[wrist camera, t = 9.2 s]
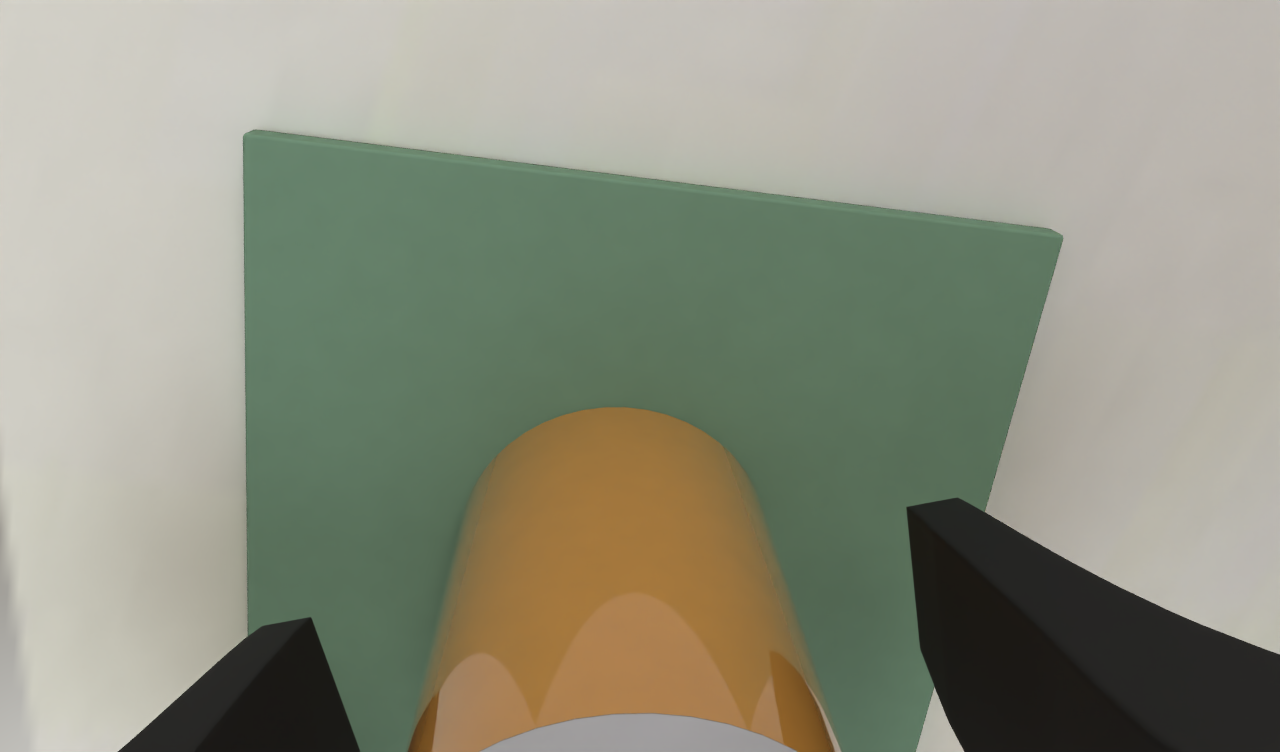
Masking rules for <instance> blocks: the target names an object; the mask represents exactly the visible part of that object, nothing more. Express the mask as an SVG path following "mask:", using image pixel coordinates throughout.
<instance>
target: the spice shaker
mask: <svg viewBox="0 0 1280 752" xmlns="http://www.w3.org/2000/svg"><path fill="white" fill-rule="evenodd" d="M405 752H844V750H843V747H842V744H841V741H840V738H839V735H838V732H837V729H836V726H835V723H834V720H833V717H832V714H831V711H830V708H829V705H828V702H827V699H826V696H825V693H824V690H823V687H822V684H821V681H820V678H819V675H818V672H817V669H816V666H815V663H814V660H813V657H812V654H811V651H810V648H809V645H808V642H807V639H806V636H805V633H804V630H803V627H802V624H801V621H800V618H799V615H798V612H797V609H796V606H795V603H794V600H793V597H792V594H791V591H790V588H789V585H788V582H787V579H786V576H785V573H784V570H783V567H782V564H781V561H780V558H779V555H778V552H777V549H776V546H775V543H774V540H773V537H772V534H771V531H770V528H769V525H768V522H767V519H766V516H765V513H764V510H763V507H762V504H761V502H760V499H759V497H758V494H757V492H756V489H755V487H754V485H753V483H752V481H751V480H750V478H749V476H748V475H747V473H746V471H745V470H744V469H743V467H742V466H741V465H740V464H739V462H738V461H737V460H736V458H735V457H734V456H733V455H732V454H731V453H730V452H729V451H728V450H727V449H726V448H725V447H723V446H722V445H721V444H720V443H719V442H718V441H716V440H715V439H714V438H712V437H711V436H709V435H708V434H707V433H705V432H704V431H702V430H700V429H698V428H696V427H695V426H693V425H691V424H689V423H687V422H685V421H682V420H680V419H677V418H674V417H672V416H669V415H666V414H662V413H658V412H654V411H650V410H645V409H636V408H628V407H603V408H595V409H587V410H581V411H577V412H573V413H569V414H565V415H562V416H559V417H557V418H554V419H552V420H549V421H546V422H544V423H542V424H540V425H538V426H536V427H534V428H533V429H531V430H529V431H527V432H525V433H524V434H522V435H521V436H520V437H518V438H517V439H515V440H514V441H513V442H511V443H510V444H508V445H507V446H506V447H505V448H504V449H503V450H502V451H501V452H500V453H499V454H498V455H497V456H496V457H495V458H494V459H493V460H492V461H491V463H490V464H489V465H488V466H487V467H486V469H485V470H484V471H483V472H482V474H481V476H480V477H479V479H478V481H477V482H476V484H475V486H474V487H473V489H472V491H471V494H470V496H469V499H468V501H467V504H466V506H465V510H464V514H463V518H462V522H461V526H460V530H459V534H458V538H457V543H456V547H455V551H454V555H453V559H452V563H451V567H450V571H449V575H448V579H447V583H446V588H445V592H444V596H443V600H442V604H441V608H440V612H439V616H438V620H437V624H436V629H435V633H434V637H433V641H432V645H431V649H430V653H429V657H428V661H427V665H426V670H425V674H424V678H423V682H422V686H421V690H420V694H419V698H418V702H417V706H416V710H415V715H414V719H413V723H412V727H411V731H410V735H409V739H408V743H407V747H406V751H405Z"/></svg>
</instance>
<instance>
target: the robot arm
mask: <svg viewBox="0 0 1280 752" xmlns="http://www.w3.org/2000/svg"><path fill="white" fill-rule="evenodd" d="M906 510H907V520H908V530H909V540H910V551H911V561H912V571H913V581H914V592H915V602H916V612H917V622H918V633H919V643H920V650H921V653H922V655H923V658H924V660H925V663H926V666H927V668H928V671H929V673H930V676H931V679H932V681H933V684H934V686H935V689H936V692H937V694H938V696H939V699H940V701H941V704H942V706H943V709H944V711H945V714H946V716H947V719H948V721H949V723H950V725H951V727H952V729H953V731H954V733H955V735H956V737H957V738H958V740H959V742H960V744H961V746H962V748H963V749H964V751H965V752H1280V655H1279V654H1276V653H1274V652H1271V651H1268V650H1265V649H1262V648H1260V647H1257V646H1255V645H1252V644H1250V643H1247V642H1244V641H1242V640H1239V639H1237V638H1234V637H1231V636H1229V635H1226V634H1224V633H1221V632H1219V631H1216V630H1213V629H1211V628H1208V627H1206V626H1203V625H1201V624H1198V623H1196V622H1194V621H1191V620H1189V619H1187V618H1184V617H1182V616H1180V615H1177V614H1175V613H1173V612H1171V611H1168V610H1166V609H1164V608H1162V607H1160V606H1158V605H1156V604H1154V603H1151V602H1149V601H1147V600H1145V599H1143V598H1141V597H1139V596H1137V595H1135V594H1133V593H1130V592H1128V591H1126V590H1124V589H1122V588H1120V587H1118V586H1116V585H1114V584H1112V583H1110V582H1108V581H1106V580H1104V579H1102V578H1100V577H1098V576H1096V575H1094V574H1093V573H1091V572H1089V571H1087V570H1085V569H1083V568H1081V567H1079V566H1078V565H1076V564H1074V563H1072V562H1070V561H1068V560H1067V559H1065V558H1063V557H1061V556H1059V555H1058V554H1056V553H1054V552H1052V551H1050V550H1049V549H1047V548H1045V547H1043V546H1042V545H1040V544H1038V543H1036V542H1035V541H1033V540H1031V539H1029V538H1028V537H1026V536H1024V535H1023V534H1021V533H1019V532H1017V531H1016V530H1014V529H1012V528H1011V527H1009V526H1007V525H1005V524H1004V523H1002V522H1000V521H999V520H997V519H995V518H993V517H992V516H990V515H988V514H987V513H985V512H983V511H982V510H980V509H978V508H976V507H975V506H973V505H971V504H969V503H967V502H965V501H964V500H962V499H960V498H958V497H957V498H952V499H946V500H941V501H935V502H930V503H924V504H919V505H914V506H908V507H906ZM118 752H360V749H359V746H358V744H357V741H356V738H355V735H354V733H353V730H352V727H351V724H350V722H349V719H348V716H347V714H346V711H345V708H344V705H343V703H342V700H341V697H340V694H339V692H338V689H337V686H336V683H335V681H334V678H333V675H332V672H331V670H330V667H329V664H328V662H327V659H326V656H325V653H324V651H323V648H322V645H321V642H320V640H319V637H318V634H317V631H316V629H315V626H314V623H313V620H312V618H311V617H308V618H302V619H297V620H291V621H286V622H281V623H275V624H270V625H264V626H261V627H260V628H259V629H257V630H256V631H255V632H253V633H252V634H250V635H249V636H248V637H247V638H245V639H244V640H243V641H242V642H241V643H239V644H238V645H237V646H236V647H235V648H233V649H232V650H231V651H230V652H229V653H228V654H227V655H225V656H224V657H223V658H222V659H221V660H220V661H219V662H217V663H216V664H215V665H214V666H213V667H212V668H211V669H210V670H209V671H207V672H206V673H205V674H204V675H203V676H202V677H201V678H200V679H199V680H198V681H196V682H195V683H194V684H193V685H192V686H191V687H190V688H189V689H188V690H187V691H185V692H184V693H183V694H182V695H181V696H180V697H179V698H178V699H177V700H175V701H174V702H173V703H172V704H171V705H170V706H169V707H168V708H167V709H166V710H164V711H163V712H162V713H161V714H160V715H159V716H158V717H157V718H156V719H154V720H153V721H152V722H151V723H150V724H149V725H148V726H147V727H146V728H144V729H143V730H142V731H141V732H140V733H139V734H138V735H137V736H136V737H134V738H133V739H132V740H131V741H130V742H129V743H128V744H126V745H125V746H124V747H123V748H122V749H120V750H119V751H118Z"/></svg>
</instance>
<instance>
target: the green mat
mask: <svg viewBox="0 0 1280 752" xmlns="http://www.w3.org/2000/svg"><path fill="white" fill-rule="evenodd" d="M243 183H244V287H245V392H246V496H247V601H248V636H249V635H250V634H252V633H253V632H255V631H256V630H257V629H259V628H260V627H261V626H264V625H270V624H275V623H281V622H286V621H291V620H297V619H302V618H308V617H311V618H312V620H313V623H314V626H315V629H316V631H317V634H318V637H319V640H320V642H321V645H322V648H323V651H324V653H325V656H326V659H327V662H328V664H329V667H330V670H331V672H332V675H333V678H334V681H335V683H336V686H337V689H338V692H339V694H340V697H341V700H342V703H343V705H344V708H345V711H346V714H347V716H348V719H349V722H350V724H351V727H352V730H353V733H354V735H355V738H356V741H357V744H358V746H359V749H360V752H405V751H406V747H407V743H408V739H409V735H410V731H411V727H412V723H413V719H414V715H415V710H416V706H417V702H418V698H419V694H420V690H421V686H422V682H423V678H424V674H425V670H426V665H427V661H428V657H429V653H430V649H431V645H432V641H433V637H434V633H435V629H436V624H437V620H438V616H439V612H440V608H441V604H442V600H443V596H444V592H445V588H446V583H447V579H448V575H449V571H450V567H451V563H452V559H453V555H454V551H455V547H456V543H457V538H458V534H459V530H460V526H461V522H462V518H463V514H464V510H465V506H466V504H467V501H468V499H469V496H470V494H471V491H472V489H473V487H474V486H475V484H476V482H477V481H478V479H479V477H480V476H481V474H482V472H483V471H484V470H485V469H486V467H487V466H488V465H489V464H490V463H491V461H492V460H493V459H494V458H495V457H496V456H497V455H498V454H499V453H500V452H501V451H502V450H503V449H504V448H505V447H506V446H507V445H508V444H510V443H511V442H513V441H514V440H515V439H517V438H518V437H520V436H521V435H522V434H524V433H525V432H527V431H529V430H531V429H533V428H534V427H536V426H538V425H540V424H542V423H544V422H546V421H549V420H552V419H554V418H557V417H559V416H562V415H565V414H569V413H573V412H577V411H581V410H587V409H595V408H603V407H628V408H636V409H645V410H650V411H654V412H658V413H662V414H666V415H669V416H672V417H674V418H677V419H680V420H682V421H685V422H687V423H689V424H691V425H693V426H695V427H696V428H698V429H700V430H702V431H704V432H705V433H707V434H708V435H709V436H711V437H712V438H714V439H715V440H716V441H718V442H719V443H720V444H721V445H722V446H723V447H725V448H726V449H727V450H728V451H729V452H730V453H731V454H732V455H733V456H734V457H735V458H736V460H737V461H738V462H739V464H740V465H741V466H742V467H743V469H744V470H745V471H746V473H747V475H748V476H749V478H750V480H751V481H752V483H753V485H754V487H755V489H756V492H757V494H758V497H759V499H760V502H761V504H762V507H763V510H764V513H765V516H766V519H767V522H768V525H769V528H770V531H771V534H772V537H773V540H774V543H775V546H776V549H777V552H778V555H779V558H780V561H781V564H782V567H783V570H784V573H785V576H786V579H787V582H788V585H789V588H790V591H791V594H792V597H793V600H794V603H795V606H796V609H797V612H798V615H799V618H800V621H801V624H802V627H803V630H804V633H805V636H806V639H807V642H808V645H809V648H810V651H811V654H812V657H813V660H814V663H815V666H816V669H817V672H818V675H819V678H820V681H821V684H822V687H823V690H824V693H825V696H826V699H827V702H828V705H829V708H830V711H831V714H832V717H833V720H834V723H835V726H836V729H837V732H838V735H839V738H840V741H841V744H842V747H843V750H844V752H916V749H917V745H918V742H919V738H920V735H921V731H922V728H923V724H924V721H925V717H926V714H927V710H928V707H929V703H930V700H931V696H932V693H933V690H934V684H933V681H932V679H931V676H930V673H929V671H928V668H927V666H926V663H925V660H924V658H923V655H922V653H921V650H920V643H919V633H918V622H917V612H916V602H915V592H914V581H913V571H912V561H911V551H910V540H909V530H908V520H907V510H906V507H908V506H914V505H919V504H924V503H930V502H935V501H941V500H946V499H952V498H957V497H958V498H960V499H962V500H964V501H965V502H967V503H969V504H971V505H973V506H975V507H976V508H978V509H980V510H982V511H983V512H985V509H986V505H987V502H988V499H989V495H990V492H991V488H992V485H993V481H994V478H995V474H996V471H997V467H998V464H999V460H1000V457H1001V453H1002V450H1003V446H1004V443H1005V439H1006V436H1007V433H1008V429H1009V426H1010V422H1011V419H1012V415H1013V412H1014V408H1015V405H1016V401H1017V398H1018V394H1019V391H1020V387H1021V384H1022V380H1023V377H1024V373H1025V370H1026V367H1027V363H1028V360H1029V356H1030V353H1031V349H1032V346H1033V342H1034V339H1035V335H1036V332H1037V328H1038V325H1039V321H1040V318H1041V314H1042V311H1043V307H1044V304H1045V301H1046V297H1047V294H1048V290H1049V287H1050V283H1051V280H1052V276H1053V273H1054V269H1055V266H1056V262H1057V259H1058V255H1059V252H1060V248H1061V245H1062V241H1063V236H1062V235H1061V234H1059V233H1057V232H1055V231H1053V230H1051V229H1046V228H1038V227H1030V226H1022V225H1014V224H1006V223H998V222H990V221H982V220H974V219H966V218H958V217H950V216H942V215H934V214H926V213H918V212H910V211H902V210H894V209H886V208H878V207H870V206H862V205H854V204H846V203H838V202H830V201H822V200H814V199H806V198H798V197H790V196H782V195H774V194H766V193H758V192H750V191H742V190H734V189H726V188H718V187H710V186H702V185H694V184H686V183H678V182H670V181H662V180H654V179H646V178H638V177H630V176H622V175H614V174H606V173H598V172H590V171H582V170H574V169H566V168H558V167H550V166H542V165H534V164H526V163H518V162H510V161H502V160H494V159H486V158H478V157H470V156H462V155H454V154H446V153H438V152H430V151H422V150H414V149H406V148H398V147H390V146H382V145H374V144H366V143H358V142H350V141H342V140H334V139H326V138H318V137H310V136H302V135H294V134H286V133H278V132H270V131H262V130H253V131H250V132H248V133H245V134H244V136H243Z"/></svg>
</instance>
